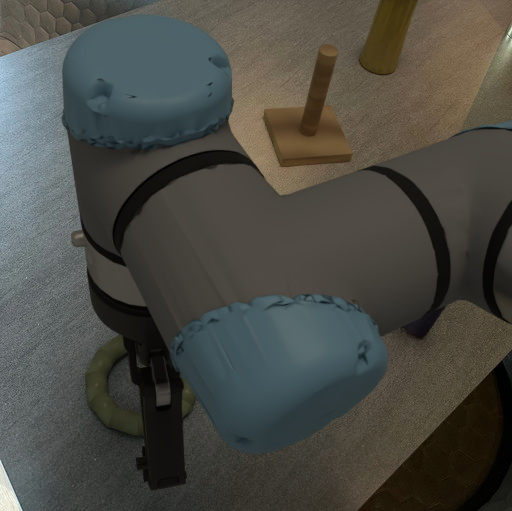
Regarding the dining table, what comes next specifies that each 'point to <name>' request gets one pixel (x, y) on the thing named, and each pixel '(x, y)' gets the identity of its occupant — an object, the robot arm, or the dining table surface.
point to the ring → (105, 403)
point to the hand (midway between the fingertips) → (148, 399)
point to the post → (310, 122)
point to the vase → (387, 35)
